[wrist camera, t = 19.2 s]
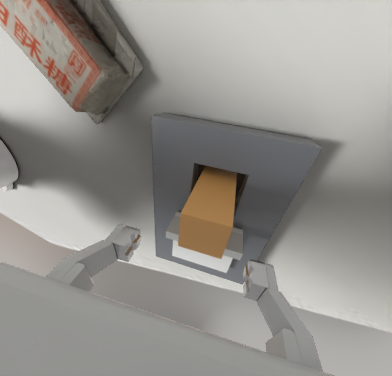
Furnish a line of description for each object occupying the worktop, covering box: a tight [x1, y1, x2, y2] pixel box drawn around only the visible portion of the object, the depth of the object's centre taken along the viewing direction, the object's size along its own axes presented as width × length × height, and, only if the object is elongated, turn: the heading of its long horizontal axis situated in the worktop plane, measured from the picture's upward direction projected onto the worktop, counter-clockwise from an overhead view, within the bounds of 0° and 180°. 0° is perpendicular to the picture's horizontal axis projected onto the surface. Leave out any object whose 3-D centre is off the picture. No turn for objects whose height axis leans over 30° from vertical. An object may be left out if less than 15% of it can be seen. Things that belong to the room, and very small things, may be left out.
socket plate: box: [151, 113, 322, 284], centre depth 22 cm, size 16×24×3 cm, turn 173°
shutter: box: [166, 212, 243, 273], centre depth 22 cm, size 9×9×4 cm
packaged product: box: [0, 0, 143, 124], centre depth 14 cm, size 18×5×10 cm
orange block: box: [178, 165, 237, 259], centre depth 17 cm, size 4×4×10 cm
